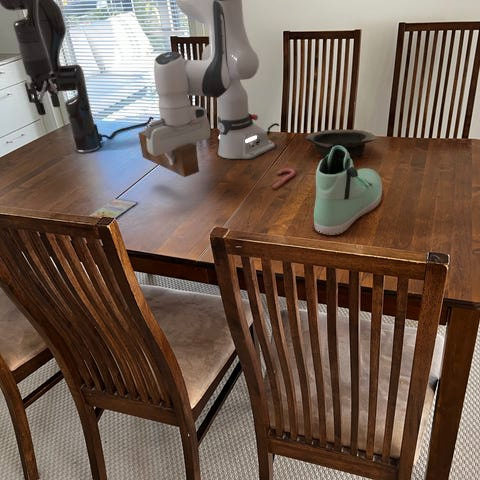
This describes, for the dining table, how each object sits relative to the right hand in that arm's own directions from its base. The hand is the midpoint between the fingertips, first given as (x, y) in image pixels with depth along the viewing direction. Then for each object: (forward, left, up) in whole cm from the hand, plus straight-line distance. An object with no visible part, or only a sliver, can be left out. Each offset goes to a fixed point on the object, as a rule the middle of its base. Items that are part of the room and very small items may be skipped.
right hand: (182, 160), depth 142 cm
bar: (+1, -8, -3) cm, 8 cm away
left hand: (+24, -40, +13) cm, 48 cm away
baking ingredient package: (+21, -12, -14) cm, 28 cm away
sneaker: (-33, +36, -14) cm, 51 cm away
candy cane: (-31, +8, -14) cm, 35 cm away
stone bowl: (-61, +6, -14) cm, 62 cm away
